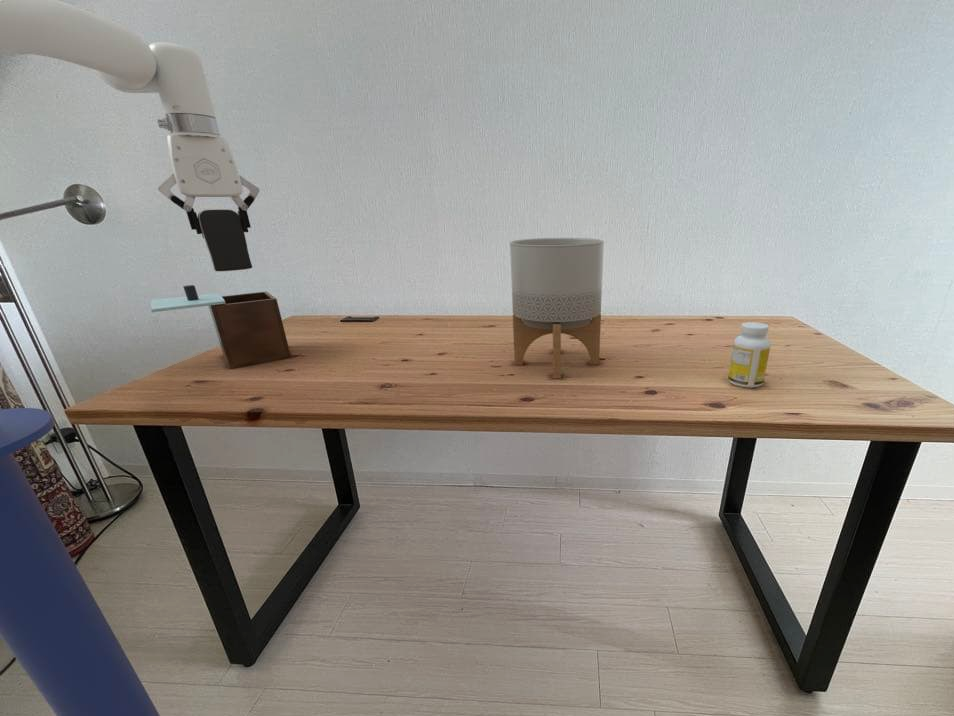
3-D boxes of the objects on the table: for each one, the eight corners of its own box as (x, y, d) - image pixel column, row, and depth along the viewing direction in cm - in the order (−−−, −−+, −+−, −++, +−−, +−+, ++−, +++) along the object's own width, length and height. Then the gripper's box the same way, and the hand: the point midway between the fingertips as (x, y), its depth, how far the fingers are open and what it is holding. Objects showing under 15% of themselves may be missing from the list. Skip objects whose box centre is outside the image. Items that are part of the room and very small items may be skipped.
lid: (152, 312, 91) (145, 294, 89) (152, 302, 100) (146, 286, 99) (225, 303, 98) (220, 286, 96) (219, 295, 107) (215, 279, 106)
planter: (595, 350, 110) (599, 237, 100) (602, 378, 93) (608, 244, 83) (518, 351, 111) (513, 238, 100) (511, 378, 94) (505, 246, 83)
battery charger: (249, 267, 97) (234, 209, 92) (254, 269, 94) (239, 209, 89) (210, 270, 92) (192, 209, 87) (215, 272, 90) (196, 209, 85)
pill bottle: (763, 379, 91) (775, 322, 87) (762, 391, 86) (774, 330, 81) (729, 375, 94) (738, 319, 89) (725, 385, 89) (735, 327, 84)
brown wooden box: (229, 368, 102) (210, 306, 96) (223, 355, 111) (205, 297, 106) (291, 357, 109) (276, 298, 103) (280, 345, 118) (266, 291, 113)
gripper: (132, 122, 76) (168, 235, 83) (251, 130, 85) (275, 231, 92) (134, 128, 81) (168, 234, 88) (246, 135, 91) (269, 230, 98)
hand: (223, 232), depth 90 cm, fingers closed on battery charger, 7 cm apart
